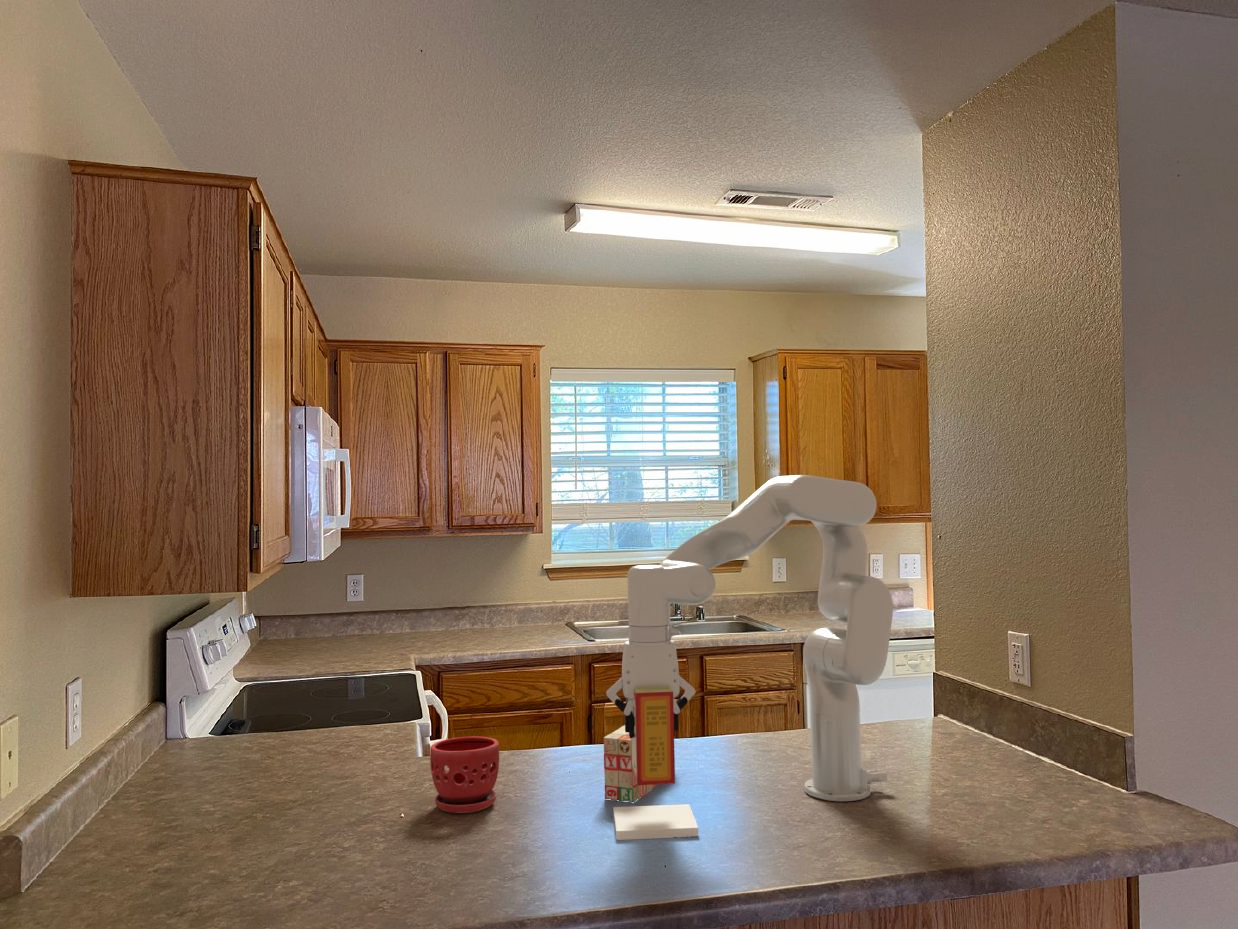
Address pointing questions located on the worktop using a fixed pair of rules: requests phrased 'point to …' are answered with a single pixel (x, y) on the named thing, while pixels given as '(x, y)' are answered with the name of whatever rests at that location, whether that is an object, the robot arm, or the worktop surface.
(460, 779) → the plant pot
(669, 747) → the baking soda box
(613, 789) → the stack of blocks
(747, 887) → the worktop surface
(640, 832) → the cutting board
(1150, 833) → the worktop surface
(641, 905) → the worktop surface
